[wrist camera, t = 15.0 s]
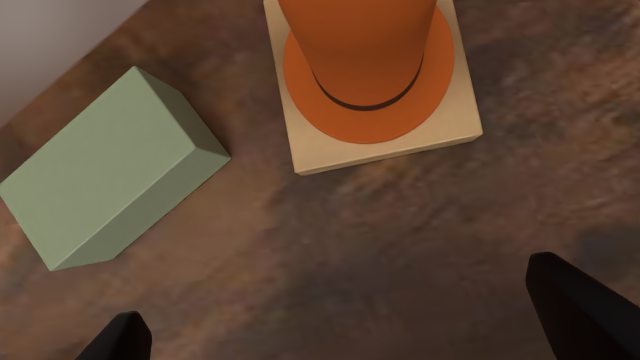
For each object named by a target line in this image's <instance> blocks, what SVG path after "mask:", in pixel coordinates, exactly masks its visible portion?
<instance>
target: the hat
mask: <svg viewBox="0 0 640 360" xmlns="http://www.w3.org/2000/svg"><path fill="white" fill-rule="evenodd" d="M436 2H437V0H278V3H279V5H280V8H281V10H282V13H283V15H284V17H285V19H286V21H287V22H288V24H289V26H290V28H291V30H290V32H289V34H288V37H287V41H286V44H285V49H284V56H283V70H284V78H285V82H286V86H287V89H288V92H289V94H290V97H291V99H292V100H293V102H294V104H295V106H296V107H297V109H298V110H299V111H300V113H301V114H302V115H303V116H304V118H305V119H307V120H308V121H309V122H310V123H311V124H312V125H313V126H314V127H315V128H317V129H318V130H319V131H321V132H323V133H324V134H326V135H328V136H330V137H332V138H335V139H337V140H340V141H344V142H348V143H354V144H376V143H383V142H387V141H390V140H394V139H396V138H399V137H401V136H404V135H406V134H407V133H409V132H411V131H412V130H414V129H416V128H417V127H418V126H419V125H421V124H422V123H423V122H424V121H425V120H426V119H427V118H428V117H429V116H430V115H431V114H432V113H433V112H434V111H435V109H436V108H437V107H438V105H439V104H440V102H441V100H442V99H443V97H444V95H445V93H446V91H447V89H448V86H449V84H450V81H451V77H452V73H453V68H454V44H453V37H452V34H451V31H450V28H449V25H448V23H447V21H446V19H445V17H444V15H443V14H442V12H441V11H440V9H439V8H438V7H437V5H436Z"/></svg>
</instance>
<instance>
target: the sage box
mask: <svg viewBox="0 0 640 360" xmlns="http://www.w3.org/2000/svg"><path fill="white" fill-rule="evenodd" d="M230 160H231V157H230V155H229V154H228V153H227V151H226V150H225V149H224V148H223V146H222V145H221V144H220V142H219V141H218V140H217V138H216V137H215V136H214V135H213V133H212V132H211V131H210V129H209V128H208V127H207V126H206V124H205V123H204V122H203V120H202V119H201V118H200V116H199V115H198V114H197V113H196V111H195V110H194V109H193V107H192V106H191V105H190V103H189V102H188V101H187V100H186V98H185V97H184V96H183V94H182V93H181V92H180V91H178V90H176V89H174V88H173V87H171V86H169V85H167V84H166V83H164V82H162V81H160V80H159V79H157V78H155V77H154V76H152V75H150V74H148V73H147V72H145V71H143V70H141V69H140V68H138V67H136V66H133V67H132V68H131V69H129V70H128V71H127V72H126V73H125V74H124V75H123V76H122V77H120V78H119V79H118V80H117V81H116V82H115V83H114V84H112V85H111V86H110V87H109V88H108V89H107V90H106V91H105V92H103V93H102V94H101V95H100V96H99V97H98V98H97V99H96V100H94V101H93V102H92V103H91V104H90V105H89V106H88V107H87V108H85V109H84V110H83V111H82V112H81V113H80V114H79V115H77V116H76V117H75V118H74V119H73V120H72V121H71V122H70V123H68V124H67V125H66V126H65V127H64V128H63V129H62V130H61V131H59V132H58V133H57V134H56V135H55V136H54V137H53V138H51V139H50V140H49V141H48V142H47V143H46V144H45V145H44V146H42V147H41V148H40V149H39V150H38V151H37V152H36V153H35V154H33V155H32V156H31V157H30V158H29V159H28V160H27V161H26V162H24V163H23V164H22V165H21V166H20V167H19V168H18V169H16V170H15V171H14V172H13V173H12V174H11V175H10V176H9V177H7V178H6V179H5V180H4V181H3V182H2V183H1V184H0V196H1V197H2V199H3V200H4V202H5V203H6V205H7V206H8V208H9V209H10V211H11V212H12V214H13V215H14V217H15V218H16V220H17V222H18V223H19V225H20V226H21V228H22V229H23V231H24V232H25V234H26V235H27V237H28V238H29V240H30V241H31V243H32V244H33V246H34V247H35V249H36V250H37V252H38V254H39V255H40V257H41V258H42V260H43V261H44V263H45V264H46V266H47V267H48V269H49V270H50V271H55V270H60V269H65V268H70V267H76V266H81V265H86V264H91V263H97V262H102V261H107V260H112V259H113V258H115V257H116V256H117V255H118V254H119V253H120V252H122V251H123V250H124V249H125V248H126V247H128V246H129V245H130V244H131V243H132V242H134V241H135V240H136V239H137V238H138V237H139V236H141V235H142V234H143V233H144V232H145V231H147V230H148V229H149V228H150V227H151V226H153V225H154V224H155V223H156V222H157V221H158V220H160V219H161V218H162V217H163V216H164V215H166V214H167V213H168V212H169V211H170V210H171V209H173V208H174V207H175V206H176V205H177V204H179V203H180V202H181V201H182V200H183V199H185V198H186V197H187V196H188V195H189V194H190V193H192V192H193V191H194V190H195V189H196V188H198V187H199V186H200V185H201V184H202V183H203V182H205V181H206V180H207V179H208V178H209V177H211V176H212V175H213V174H214V173H215V172H217V171H218V170H219V169H220V168H221V167H222V166H224V165H225V164H226V163H227V162H228V161H230Z"/></svg>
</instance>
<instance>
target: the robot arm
mask: <svg viewBox="0 0 640 360" xmlns="http://www.w3.org/2000/svg"><path fill="white" fill-rule="evenodd" d="M525 282H526V287H527V290H528V292H529V295H530V297H531V300H532V302H533V305H534V307H535V310H536V312H537V314H538V317H539V319H540V322H541V324H542V327H543V329H544V332H545V334H546V336H547V339H548V341H549V344H550V346H551V348H552V351H553V353H554V355H555V357H556V359H557V360H640V307H639V306H637V305H635V304H634V303H632V302H631V301H629V300H627V299H626V298H624V297H623V296H621V295H619V294H618V293H616V292H615V291H613V290H611V289H610V288H608V287H607V286H605V285H604V284H602V283H600V282H599V281H597V280H596V279H594V278H592V277H591V276H589V275H588V274H586V273H584V272H583V271H581V270H580V269H578V268H576V267H575V266H573V265H572V264H570V263H569V262H567V261H565V260H564V259H562V258H561V257H559V256H557V255H556V254H554V253H552V252H541V253H534V254H532V255H531V256H530V258H529V263H528V268H527V273H526V278H525ZM151 345H152V335H151V332H150V330H149V328H148V327H147V325H146V323H145V322H144V320H143V318H142V317H141V315H140V314H139V313H138V312H137V311H130V312H123V313H119V314H118V315H116V316H115V317H114V318H113V319H112V320H111V321H110V322H109V324H108V325H107V326H106V327H105V328H104V329H103V330H102V331H101V332H100V333H99V334H98V335H97V336H96V337H95V339H94V340H93V341H92V342H91V343H90V344H89V345H88V346H87V347H86V348H85V349H84V350H83V351H82V352H81V353H80V355H79V356H78V357H77V358H76V359H75V360H150V353H151Z"/></svg>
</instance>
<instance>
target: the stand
mask: <svg viewBox="0 0 640 360" xmlns="http://www.w3.org/2000/svg"><path fill="white" fill-rule="evenodd" d="M263 3H264V8H265V14H266V19H267V25H268V30H269V36H270V41H271V46H272V52H273V57H274V63H275V68H276V74H277V79H278V84H279V90H280V95H281V101H282V106H283V112H284V117H285V122H286V128H287V133H288V139H289V144H290V150H291V155H292V160H293V166H294V171H295V173H298V174H300V175H303V176H305V175H309V174H314V173H319V172H324V171H329V170H334V169H339V168H344V167H348V166H353V165H358V164H363V163H368V162H373V161H378V160H383V159H387V158H392V157H397V156H402V155H407V154H412V153H417V152H422V151H426V150H431V149H436V148H441V147H446V146H451V145H456V144H461V143H465V142H470V141H474V140H475V139H476V138H478V137H479V136H480V135H482V134H483V130H482V126H481V122H480V117H479V113H478V108H477V104H476V100H475V95H474V91H473V87H472V82H471V78H470V74H469V69H468V65H467V60H466V56H465V52H464V47H463V43H462V39H461V34H460V30H459V25H458V21H457V17H456V12H455V8H454V4H453V0H437V2H436V5H437V7H438V8H439V9H440V11H441V12H442V14H443V15H444V17H445V19H446V21H447V23H448V25H449V28H450V31H451V34H452V37H453V44H454V68H453V73H452V77H451V81H450V84H449V86H448V89H447V91H446V93H445V95H444V97H443V99H442V100H441V102H440V104H439V105H438V107H437V108H436V109H435V111H434V112H433V113H432V114H431V115H430V116H429V117H428V118H427V119H426V120H425V121H424V122H423V123H422V124H421V125H419V126H418V127H417V128H416V129H414V130H412V131H411V132H409V133H407V134H406V135H404V136H401V137H399V138H396V139H394V140H390V141H387V142H383V143H376V144H354V143H348V142H344V141H340V140H337V139H335V138H332V137H330V136H328V135H326V134H324V133H323V132H321V131H319V130H318V129H317V128H315V127H314V126H313V125H312V124H311V123H310V122H309V121H308V120H307V119H305V118H304V116H303V115H302V114H301V113H300V111H299V110H298V109H297V107H296V106H295V104H294V102H293V100H292V99H291V97H290V94H289V92H288V89H287V86H286V82H285V78H284V70H283V56H284V49H285V44H286V41H287V37H288V34H289V32H290V30H291V28H290V26H289V24H288V22H287V21H286V19H285V17H284V15H283V13H282V10H281V8H280V5H279V3H278V0H264V1H263Z"/></svg>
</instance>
